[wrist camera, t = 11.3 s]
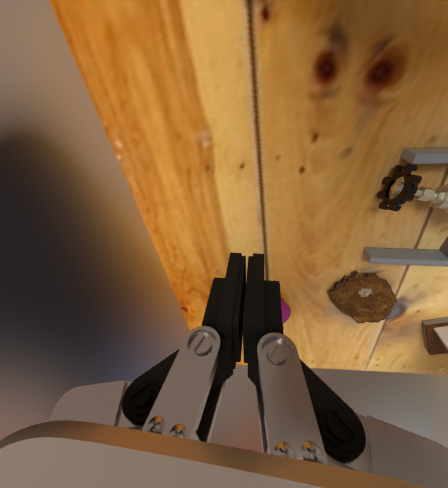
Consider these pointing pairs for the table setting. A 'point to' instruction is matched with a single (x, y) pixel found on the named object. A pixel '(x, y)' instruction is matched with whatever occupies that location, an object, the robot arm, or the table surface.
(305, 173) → the table surface
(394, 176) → the valve
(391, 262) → the dock cradle
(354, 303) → the decorative rock
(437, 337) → the banded square pillar
